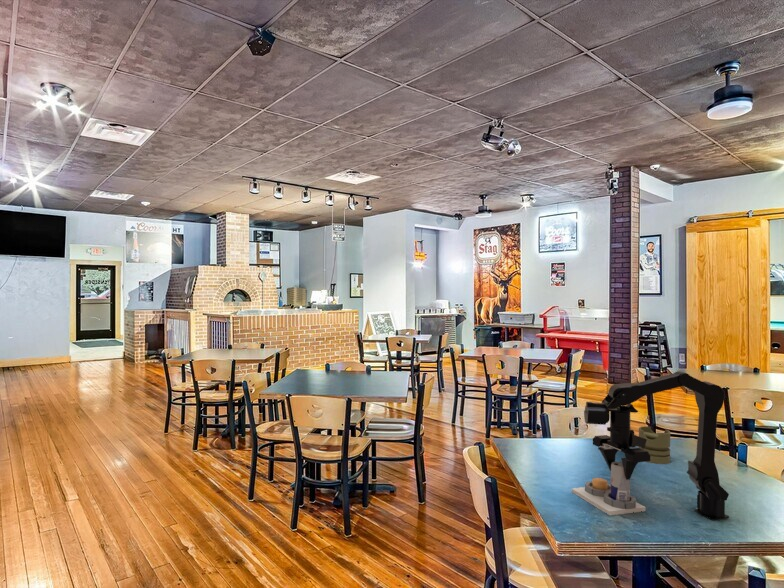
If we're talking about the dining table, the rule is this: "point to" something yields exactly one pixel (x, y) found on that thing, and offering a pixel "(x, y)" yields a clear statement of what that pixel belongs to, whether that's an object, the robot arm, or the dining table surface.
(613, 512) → the housing
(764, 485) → the dining table surface
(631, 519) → the dining table surface
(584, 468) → the dining table surface
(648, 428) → the piston
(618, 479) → the energy drink
